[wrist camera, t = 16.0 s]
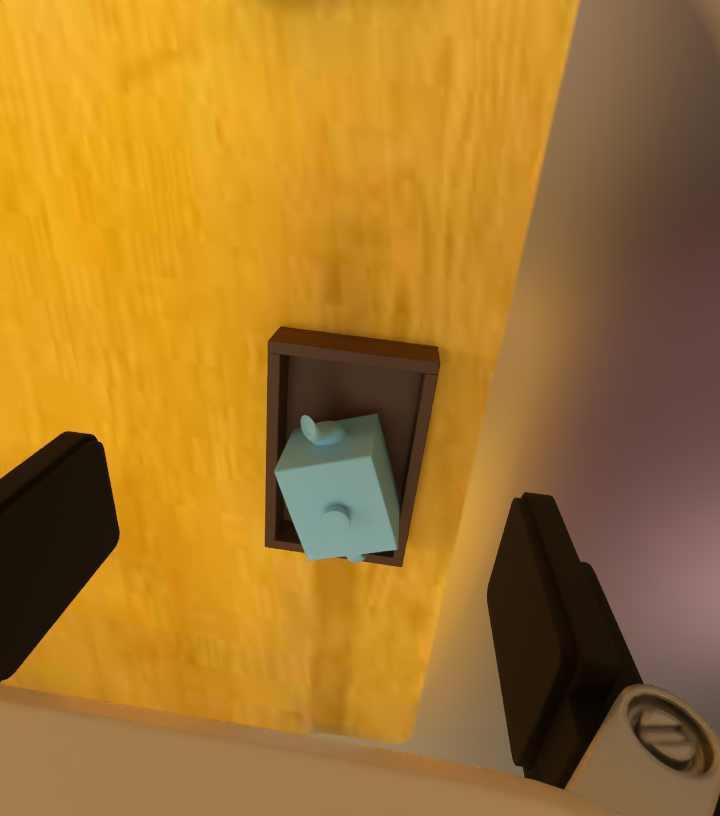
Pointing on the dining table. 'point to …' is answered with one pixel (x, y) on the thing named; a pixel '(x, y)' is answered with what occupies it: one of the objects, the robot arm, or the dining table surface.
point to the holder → (348, 411)
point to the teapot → (340, 488)
